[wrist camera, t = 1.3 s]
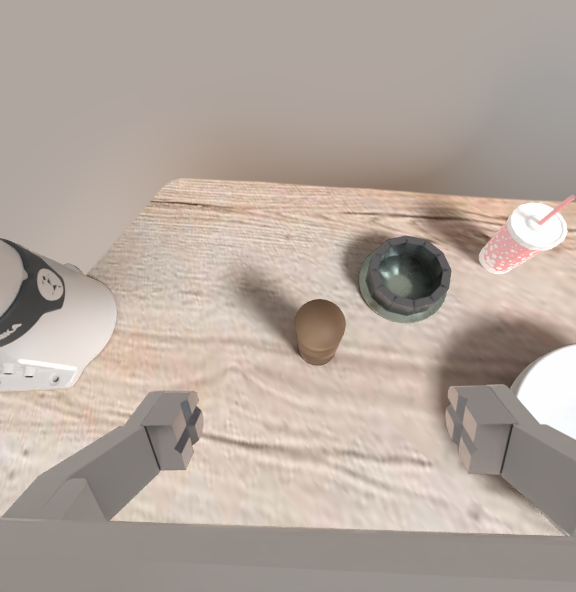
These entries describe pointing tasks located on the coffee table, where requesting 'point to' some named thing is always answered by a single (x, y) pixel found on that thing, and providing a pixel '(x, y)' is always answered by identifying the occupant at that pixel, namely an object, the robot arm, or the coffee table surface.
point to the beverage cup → (524, 236)
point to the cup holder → (405, 279)
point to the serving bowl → (551, 392)
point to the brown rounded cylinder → (319, 330)
